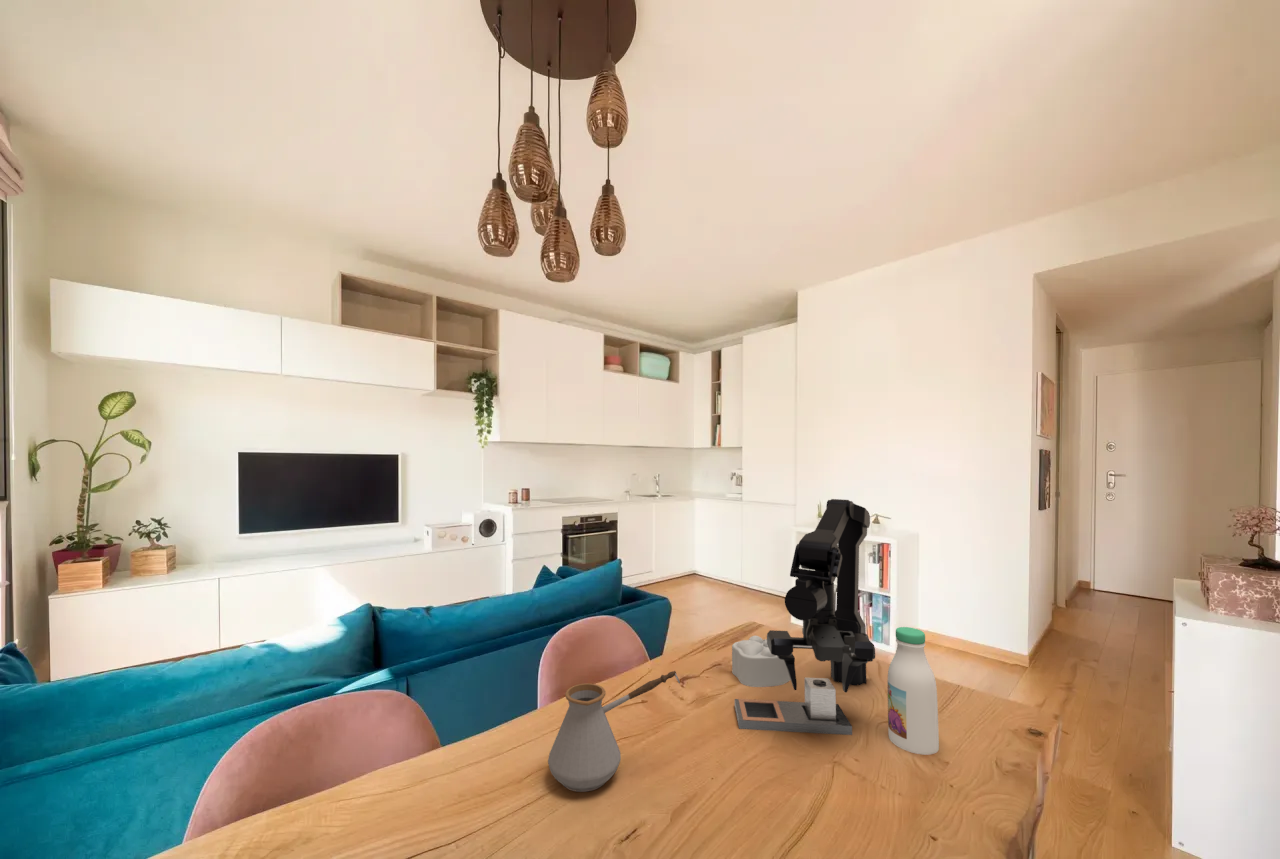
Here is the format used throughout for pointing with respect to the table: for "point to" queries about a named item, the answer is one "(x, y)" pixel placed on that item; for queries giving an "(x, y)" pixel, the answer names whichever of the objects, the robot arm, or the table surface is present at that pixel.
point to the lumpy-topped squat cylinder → (757, 664)
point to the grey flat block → (786, 717)
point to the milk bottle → (912, 695)
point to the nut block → (820, 699)
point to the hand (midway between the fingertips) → (819, 690)
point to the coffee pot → (589, 737)
